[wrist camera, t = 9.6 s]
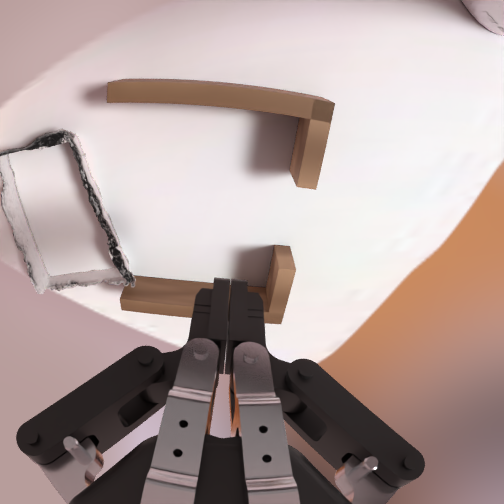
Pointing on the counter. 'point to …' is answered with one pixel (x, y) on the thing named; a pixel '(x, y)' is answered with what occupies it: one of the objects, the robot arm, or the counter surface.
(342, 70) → the counter surface
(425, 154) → the counter surface
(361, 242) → the counter surface
